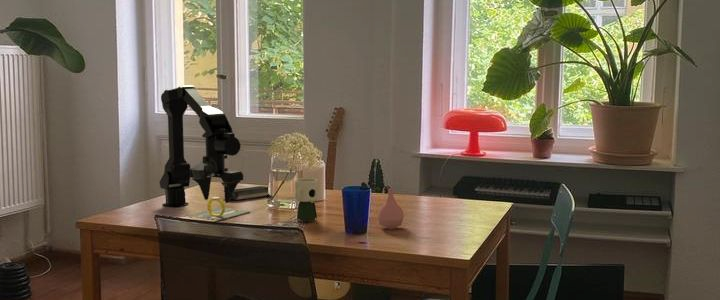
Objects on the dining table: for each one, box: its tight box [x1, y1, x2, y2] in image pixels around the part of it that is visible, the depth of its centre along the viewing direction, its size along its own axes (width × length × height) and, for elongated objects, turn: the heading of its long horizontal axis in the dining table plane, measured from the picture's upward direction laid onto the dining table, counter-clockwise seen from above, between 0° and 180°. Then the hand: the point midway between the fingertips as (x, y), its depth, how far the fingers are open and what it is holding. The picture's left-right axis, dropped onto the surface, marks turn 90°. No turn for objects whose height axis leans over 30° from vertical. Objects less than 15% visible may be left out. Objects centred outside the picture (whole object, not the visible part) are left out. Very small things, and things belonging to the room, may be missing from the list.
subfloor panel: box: [182, 206, 251, 221], centre depth 243 cm, size 13×22×1 cm, turn 145°
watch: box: [207, 196, 226, 216], centre depth 241 cm, size 6×3×6 cm, turn 65°
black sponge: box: [223, 185, 269, 201], centre depth 274 cm, size 16×8×4 cm, turn 127°
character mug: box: [294, 177, 319, 222], centre depth 235 cm, size 11×7×13 cm, turn 156°
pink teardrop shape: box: [377, 187, 405, 230], centre depth 225 cm, size 8×8×12 cm
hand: (216, 201), depth 241 cm, fingers open, 9 cm apart
